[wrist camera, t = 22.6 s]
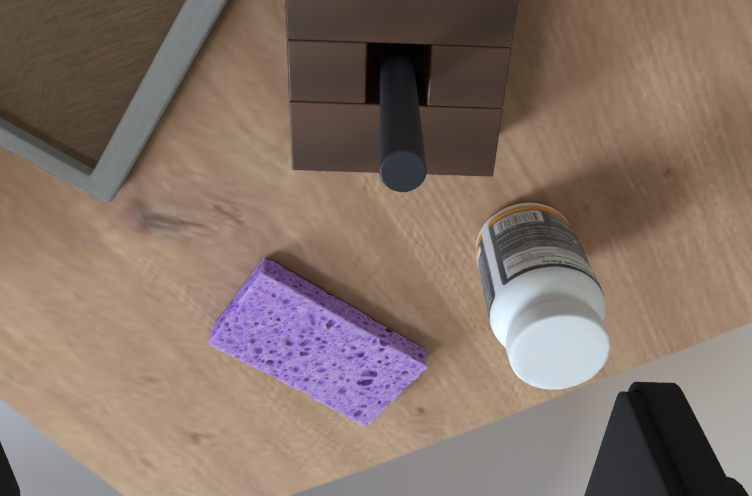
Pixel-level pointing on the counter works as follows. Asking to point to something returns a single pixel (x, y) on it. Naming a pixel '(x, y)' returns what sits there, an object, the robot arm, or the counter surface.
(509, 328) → the pill bottle
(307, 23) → the dock
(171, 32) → the grey-rimmed serving tray
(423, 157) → the peg
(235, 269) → the counter surface
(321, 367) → the sponge
